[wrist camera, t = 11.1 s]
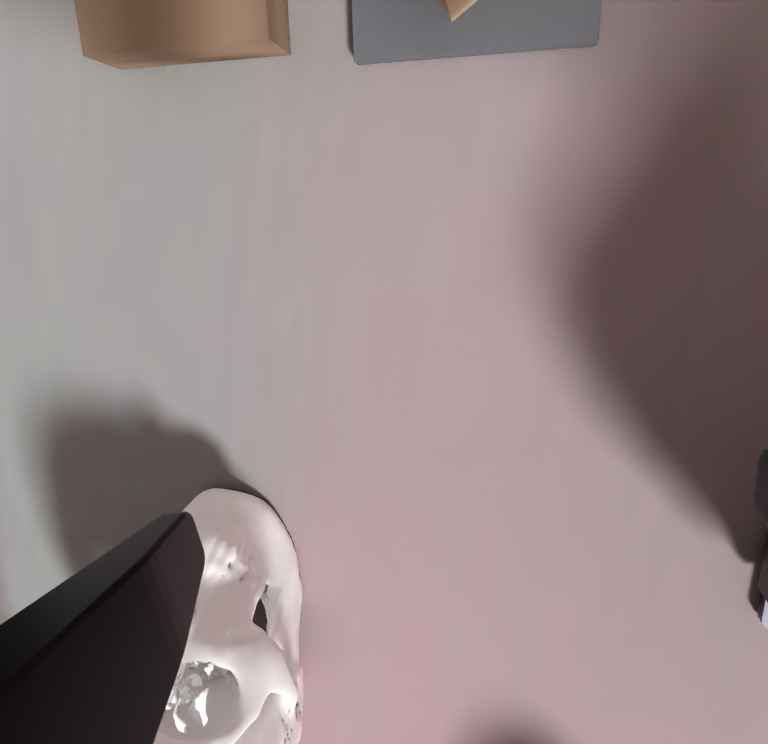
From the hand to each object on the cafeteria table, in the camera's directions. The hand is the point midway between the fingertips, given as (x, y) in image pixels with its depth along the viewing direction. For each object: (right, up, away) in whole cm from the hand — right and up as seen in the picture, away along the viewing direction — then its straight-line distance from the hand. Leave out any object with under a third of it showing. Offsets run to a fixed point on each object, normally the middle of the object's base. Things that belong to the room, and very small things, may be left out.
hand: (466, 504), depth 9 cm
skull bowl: (-9, -10, +20) cm, 24 cm away
